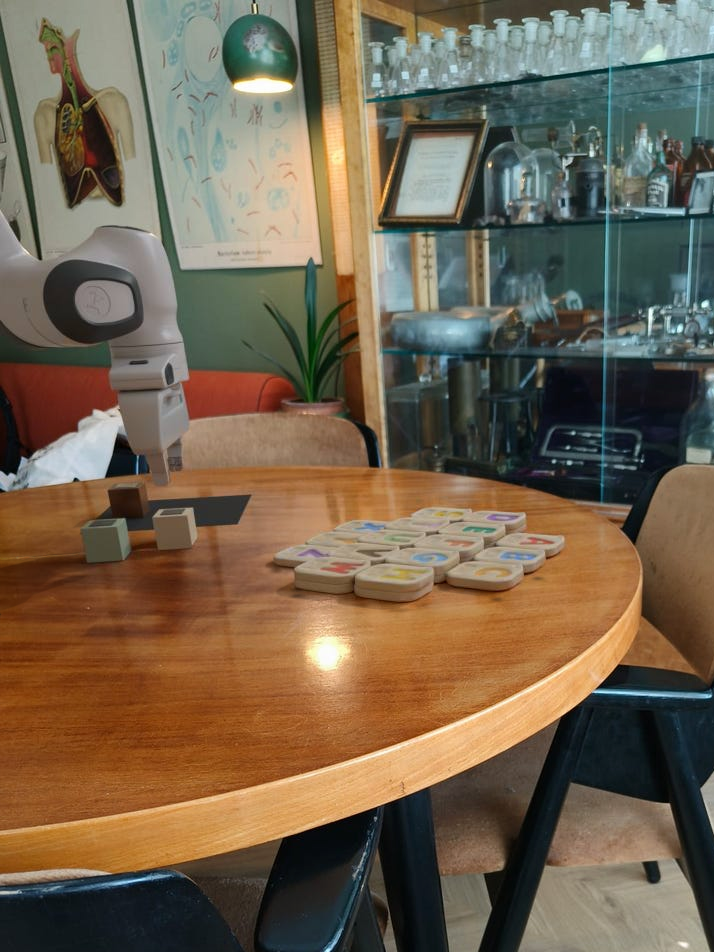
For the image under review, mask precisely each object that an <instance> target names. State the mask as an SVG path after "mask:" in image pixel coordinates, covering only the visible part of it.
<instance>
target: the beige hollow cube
mask: <svg viewBox="0 0 714 952" xmlns="http://www.w3.org/2000/svg"><path fill="white" fill-rule="evenodd" d="M152 519H153V525H154V530H153V531H154V536H155V542H156V548H157V551H170V550H184V549H193V548H194V546H195V545H194V543H195V542H196V540H197V539H198V532H197V527H196V524H195V518H194V511H193V508H176V509H159V510H158V511H157V513H156V514H155V515H154V516H153V517H152Z"/></svg>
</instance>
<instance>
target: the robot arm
mask: <svg viewBox="0 0 714 952" xmlns="http://www.w3.org/2000/svg"><path fill="white" fill-rule="evenodd" d="M177 299H178V298H177V293H176V287H175V281H174V278H173V272H172V269H171V264H170V260H169V258H168V255H167V253H166V250H165V247H164V246H163V243H162V242H161V240H160V238H159V237H158V236H157V235H155V234H153V233H152V232H151V231H148V230H146V229H143V228H138V227H134V226H128V225H119V224H117V225H115V224H107V225H106V224H105V225H102V226H98V227H96V228H95V229H94V230H93V232H92V234H91V235H90V236H88V238H86V240H84V241H83V242H81V243H80V244H79V245H77V246H76V247H74V248H72V249H70V250H68V251H67V252H65V253H62V254H59V255H58V257H55V258H48V259H42V260H40V259H38V258H36V257H35V256H33V255H32V254H30V253H29V252H28V251H27V250H26V249H25V248H24V246H23V245H22V244H21V243H20V241H19V240H18V238H17V236H16V234H15V232H14V230H13V229H12V227H11V226H10V224H9V222H8V220H7V219H6V217H5V215H4V214H3V211H2V210H1V209H0V335H1V337H3V338H4V339H5V340H7V341H8V342H9V343H11V344H13V345H15V347H16V346H17V347H19V348H22V349H24V350H29V351H44V350H50V349H56V348H77V347H80V348H81V347H84V348H85V347H93V346H98V345H99V344H102V343H105V342H107V343H108V348H109V351H110V353H109V354H110V358H111V360H110V361H111V366H110V369H109V372H108V381H109V387H110V390H111V391H113V392H118V393H117V401H118V402H117V403H118V407H119V412H120V416H121V420H122V423H123V424H122V425H123V428H124V432H125V435H126V439H127V442H128V445H129V447H130V449H131V451H132V453H133V454H134V456H135V455H136V456H145V460H146V463H147V466H148V468H149V470H150V472H151V475H152V480H153V484H154V485H155V486H156V487H166V486H168V485H169V484H170V483H171V474H170V472H181V471H183V469H184V468H185V463H184V458H183V456H184V455H183V454H184V440H183V436H184V435H185V434H186V433H188V431H189V430H190V417H189V416H190V415H189V411H188V407H187V402H186V397H185V392H184V391H185V390H184V387H183V384H182V382H183V383H184V382H187V381H190V375H189V373H190V372H189V368H188V367H189V366H188V362H187V361H188V360H187V355H186V348H185V344H184V338H183V335H182V333H181V330H180V329H179V325H178V319H177V313H178V300H177ZM166 453H167V455H166ZM167 465H168V466H167Z"/></svg>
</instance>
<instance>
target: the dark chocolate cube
mask: <svg viewBox="0 0 714 952" xmlns="http://www.w3.org/2000/svg"><path fill="white" fill-rule="evenodd" d="M147 491H148V490H147V485H146V482H145V481H141V482H140V481H139V482H123V483H121V482H120V483H114V484H113V485H111V486H110V487H109V488H108V489H107V495H108V501H109V505H110V506H111V511H112V517H113V519H121V518H125V519H128V518H144V517H145V516H146V514H147V513H148V512H149V511H150V508H149V502H148V500H149V497H148V492H147ZM110 506H109V507H110Z"/></svg>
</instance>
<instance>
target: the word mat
mask: <svg viewBox="0 0 714 952" xmlns="http://www.w3.org/2000/svg"><path fill="white" fill-rule="evenodd" d="M252 495H253V494H234V495H219V496H201V497H200V496H199V497H185V498H168V499H167V498H165V499H148V502H149V508H150V511H149V512H148V513H147V514H146V516H145V517H144V518H128V519H126V525H127V530H128V532H136V531H137V532H139V531H155V530H154V525H153V519H152V517H153V516H154V515H155V514H156V513H157V511H158V510H159V509H176V508H193V511H194V518H195V524H196V528H201V527H204V528H205V527H217V526H234V525H235V526H236V525H239V522H240V521H241V518H242V516H243V514H244V512H245V510H246V508H247V506H248V503H249V502H250V499H251V498H252ZM104 519H113V517H112V511H111V506H109V507H107V508H106V509H105V510H104V511H103V512H102V513H100V515H99V516H98V517H96V518H95V519H94V520H104ZM79 535H81V532H80V533H79Z"/></svg>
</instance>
